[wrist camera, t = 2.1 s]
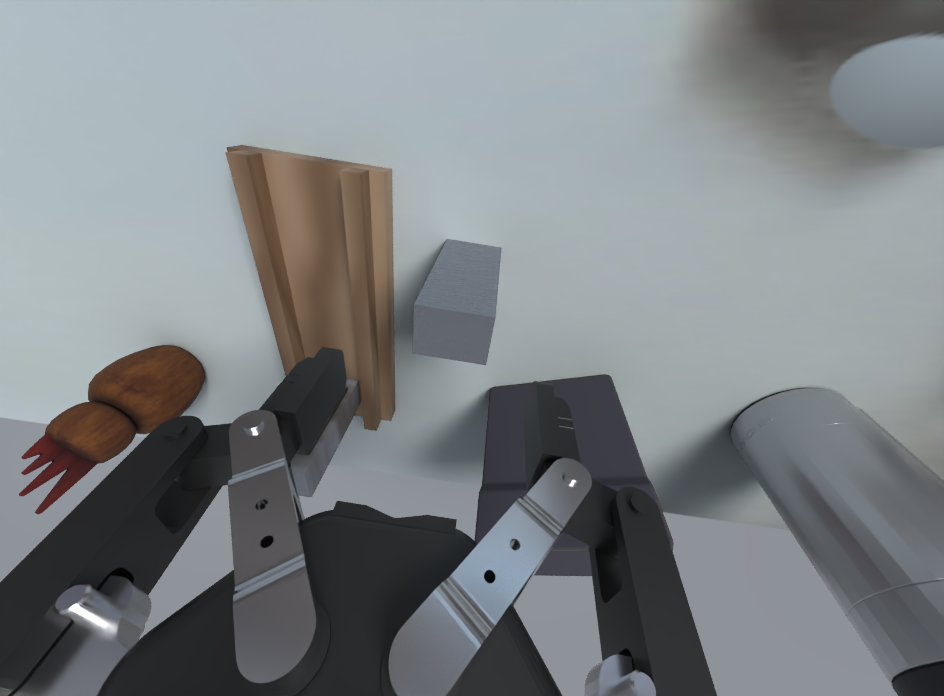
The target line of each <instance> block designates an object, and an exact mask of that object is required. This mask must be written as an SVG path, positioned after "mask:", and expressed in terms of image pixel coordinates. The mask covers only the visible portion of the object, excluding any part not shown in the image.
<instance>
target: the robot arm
mask: <svg viewBox="0 0 944 696" xmlns="http://www.w3.org/2000/svg"><path fill="white" fill-rule="evenodd" d="M346 380H347V377H346V369H345V361H344V353H343V351H342V350H340V349H333V348H327V347H322V348H321V349H320V350H319V351H318V353H317V354H316V355H315V357H314V358H311V357H307V358H305V359H304V360H302V361H301V362H299V363H297V364H296V365H295V366H294V368H293V369H292V370H291V371H290V372H289V375H287V376H286V377H285V378H284V380H283V382H281V383H280V385H279V386H278V387H277V388H276V389H275V391H274V392H273V393H272V394H271V396H270V397H269V398H268V399H267V400H266V402H265V403H264V404H263V405H262V406H261V408H260V409H259V410H255V411H250V412H247V413H245V414H243V415H241V416H240V417H238V418H237V419H236V420H235V421H234V422H233V423H230V424H221V425H211V426H204V425H203V423H202V421H201V420H200V419H199V418H197V417H194V416H181V417H176V418H173V419H170V420H168V421H166V422H164V423H162V424H160V425H159V426H158V427H156V428H155V429H154V430H153V431H152V432H151V433H150V434H149V435H148V436H147V437H146V438H145V439H144V440H143V441H142V442H141V443H140V444H139V445H138V446H137V447H136V448H135V449H134V450H133V451H132V452H131V453H130V454H129V455H128V456H127V457H126V458H125V459H124V460H123V461H122V462H121V463H120V464H119V465H118V466H117V467H116V468H115V469H114V470H113V471H112V472H111V473H110V474H109V475H108V476H107V477H106V478H105V479H104V480H103V481H102V482H101V483H100V484H99V485H98V486H97V487H96V488H95V489H94V490H93V491H92V492H91V493H90V494H89V495H88V496H87V497H86V498H85V499H84V500H83V501H82V502H81V503H80V504H79V505H78V506H77V507H76V508H75V509H74V510H73V511H72V512H71V513H70V514H69V515H68V516H67V517H66V518H65V519H64V520H63V521H62V522H61V523H60V524H59V525H58V526H57V527H56V528H55V529H54V530H53V531H52V532H51V533H49V535H47V537H46V538H44V540H42V542H40V543H39V544H38V545H37V546H36V548H34V549H33V551H32V552H30V553H29V555H27V556H26V558H25V559H24V560H22V561H21V562H20V563H19V564H18V565H17V566H16V567H15V568H14V569H13V570H12V571H11V572H10V573H9V574H8V575H7V576H6V577H5V578H4V579H3V581H1V582H0V696H562V694H561V692H560V690H559V689H558V687H557V685H556V683H555V681H554V679H553V678H552V676H551V674H550V672H549V670H548V668H547V667H546V665H545V663H544V661H543V659H542V658H541V656H540V654H539V652H538V650H537V649H536V647H535V645H534V643H533V641H532V639H531V638H530V636H529V634H528V632H527V630H526V628H525V627H524V625H523V623H522V621H521V619H520V617H519V616H518V614H517V612H516V610H515V609H514V604H515V603H516V601H517V600H518V598H519V597H520V595H521V594H522V592H523V591H524V589H525V588H526V586H527V585H528V583H529V582H530V580H531V579H532V577H533V576H534V574H535V573H536V571H537V570H538V568H539V567H540V565H541V564H542V562H543V561H544V559H545V558H546V556H547V555H548V554H549V552H550V551H551V549H552V548H553V546H554V545H555V543H556V542H557V540H558V539H559V537H560V536H561V534H562V533H563V532H564V533H566V534H568V535H570V536H572V537H574V538H576V539H578V540H579V541H581V542H583V543H585V544H587V545H589V553H590V562H591V570H592V577H593V586H594V594H595V602H596V611H597V618H598V627H599V634H600V643H601V651H602V660H603V661H602V662H601V663H599V664H598V665H596V666H595V667H593V668H592V669H591V671H590V672H589V673H588V675H587V678H586V682H585V696H717V694H716V691H715V688H714V684H713V681H712V678H711V675H710V672H709V668H708V665H707V662H706V659H705V656H704V652H703V649H702V646H701V643H700V639H699V636H698V633H697V629H696V627H695V623H694V620H693V617H692V613H691V610H690V607H689V604H688V600H687V597H686V594H685V591H684V588H683V584H682V581H681V578H680V575H679V571H678V568H677V565H676V562H675V558H674V555H673V552H672V549H671V546H670V542H669V539H668V536H667V533H666V529H665V526H664V523H663V520H662V517H661V513H660V510H659V508H658V506H657V504H656V503H655V501H654V500H653V499H652V498H651V497H650V496H649V495H648V494H647V493H645V492H644V491H642V490H640V489H638V488H635V487H623V488H621V489H620V490H619V491H616V490H614V489H611V488H609V487H607V486H605V485H603V484H601V483H599V482H597V481H595V480H594V479H593V478H591V476H590V474H589V472H588V470H587V469H586V468H585V467H584V466H583V465H582V464H581V461H580V456H579V451H578V446H577V441H576V436H575V431H574V426H573V421H572V416H571V410H570V407H569V406H568V405H567V403H566V402H565V400H564V399H563V398H558V397H555V395H554V389H553V385H552V384H549V383H543V382H537V381H534V382H533V385H532V388H531V391H530V394H529V397H528V400H527V403H526V406H525V411H524V443H525V466H526V489H527V492H528V493H527V494H526V495H525V496H524V497H523V498H522V497H520V498H519V499H518V500H517V501H516V502H515V503H514V504H513V505H512V506H511V507H510V508H509V510H508V511H507V512H506V513H505V514H504V515H503V516H502V517H501V519H500V520H499V521H498V522H497V523H496V524H495V525H494V527H493V528H492V529H491V530H490V531H489V532H488V533H487V535H486V536H485V537H484V538H483V539H482V540H481V541H480V542H479V544H478V545H477V543H476V542H475V541H474V540H472V539H471V538H470V537H469V536H468V535H466V534H465V533H463V532H462V531H460V530H457V529H455V528H456V519H449V518H443V517H437V516H430V515H423V516H413V517H404V518H393V517H390V516H388V515H386V514H384V513H382V512H380V511H378V510H375V509H373V508H371V507H369V506H367V505H361V504H354V503H348V502H342V501H337V502H336V505H335V507H334V509H333V510H330V511H325V512H321V513H318V514H315V515H313V516H311V517H308V518H306V519H305V518H304V515H303V511H302V508H301V504H300V500H299V495H298V491H297V486H296V482H295V477H294V473H293V469H292V465H291V461H292V459H293V458H294V456H295V454H299V455H305V456H307V454H308V452H309V450H310V449H311V447H312V445H313V444H314V442H315V440H316V438H317V437H318V435H319V433H320V431H321V430H322V428H323V426H324V425H325V423H326V421H327V419H328V418H329V416H330V414H331V412H332V411H333V409H334V407H335V406H336V404H337V402H338V400H339V399H340V397H341V395H342V393H343V392H344V389H345V386H346ZM731 439H732V442H733V444H734V445H735V447H736V448H737V450H738V451H739V453H740V454H741V456H742V457H743V459H744V460H745V462H746V464H747V465H748V467H749V468H750V470H751V471H752V473H753V474H754V476H755V478H756V479H757V481H758V482H759V484H760V485H761V487H762V488H763V490H764V491H765V493H766V494H767V496H768V498H769V499H770V501H771V502H772V504H773V505H774V507H775V508H776V510H777V511H778V513H779V514H780V516H781V517H782V519H783V520H784V522H785V523H786V525H787V527H788V528H789V530H790V531H791V533H792V534H793V535H794V537H795V539H796V540H797V542H798V543H799V545H800V546H801V548H802V549H803V551H804V552H805V554H806V555H807V557H808V558H809V560H810V561H811V563H812V565H813V566H814V568H815V569H816V571H817V572H818V574H819V575H820V577H821V578H822V580H823V581H824V583H825V584H826V586H827V588H828V589H829V591H830V592H831V594H832V595H833V597H834V598H835V600H836V601H837V603H838V604H839V606H840V607H841V609H842V610H843V612H844V613H845V615H846V616H847V618H848V620H849V621H850V622H851V624H852V625H853V627H854V628H855V630H856V631H857V633H858V634H859V636H860V637H861V639H862V640H863V642H864V643H865V645H866V647H867V648H868V650H869V651H870V653H871V654H872V656H873V657H874V659H875V660H876V662H877V663H878V665H879V667H880V668H881V670H882V671H883V673H884V674H885V676H886V677H887V679H888V680H889V682H890V683H891V685H892V686H893V689H894V690H895V692H896V693H897V694H898V696H944V480H942V479H941V478H940V477H939V476H938V475H937V474H936V473H934V472H933V471H932V470H931V469H930V468H929V467H927V466H926V465H925V464H924V463H923V462H922V461H921V460H919V459H918V458H917V457H916V456H915V455H914V454H913V453H911V452H910V451H909V450H908V449H907V448H906V447H904V446H903V445H902V444H901V443H900V442H899V441H898V440H896V439H895V438H894V437H893V436H892V435H891V434H889V433H888V432H887V431H886V430H885V429H884V428H883V427H881V426H880V425H879V424H878V423H877V422H876V421H874V420H873V419H872V418H871V417H870V416H869V415H868V414H866V413H865V412H864V411H863V410H861V409H858V408H856V407H855V406H854V405H853V404H852V403H851V402H850V401H848V400H847V399H846V398H845V397H843V396H842V395H841V394H839V393H837V392H834V391H831V390H826V389H821V388H804V389H795V390H790V391H786V392H782V393H778V394H776V395H773V396H770V397H767V398H765V399H763V400H761V401H759V402H757V403H755V404H754V405H752V406H751V407H749V408H748V409H746V410H745V411H744V412H743V413H742V414H741V415H740V416H739V417H738V418H737V420H736V421H735V422H734V424H733V426H732V429H731ZM223 485H228V492H229V508H230V522H231V536H232V550H233V564H234V570H233V571H231V572H230V573H229V574H227V575H226V576H225V577H223V578H222V579H220V580H219V581H218V582H216V583H215V584H214V585H212V586H211V587H209V588H208V589H207V590H206V591H204V592H203V593H201V594H200V595H199V596H197V597H196V598H195V599H193V600H192V601H190V602H189V603H188V604H186V605H185V606H183V607H182V608H181V609H179V610H178V611H177V612H175V613H174V614H172V615H171V616H170V617H168V618H167V619H166V620H164V621H163V622H161V623H160V624H159V625H157V626H156V627H155V628H153V629H152V630H151V631H149V632H148V633H147V634H146V635H144V636H143V637H142V638H141V639H140V640H139V638H140V636H141V634H142V633H143V631H144V628H145V623H146V621H147V619H148V617H149V614H150V611H151V600H150V598H149V596H148V595H149V593H150V592H151V590H152V589H153V587H154V586H155V584H156V583H157V581H158V580H159V579H160V577H161V576H162V574H163V573H164V571H165V569H166V568H167V567H168V565H169V564H170V562H171V561H172V559H173V558H174V556H175V555H176V553H177V552H178V551H179V549H180V548H181V546H182V545H183V543H184V542H185V540H186V539H187V537H188V536H189V534H190V533H191V531H192V530H193V529H194V527H195V526H196V524H197V523H198V521H199V519H200V518H201V517H202V515H203V514H204V512H205V511H206V509H207V508H208V506H209V505H210V504H211V502H212V501H213V499H214V498H215V496H216V495H217V493H218V492H219V490H220V489H221V487H222V486H223Z"/></svg>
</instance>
